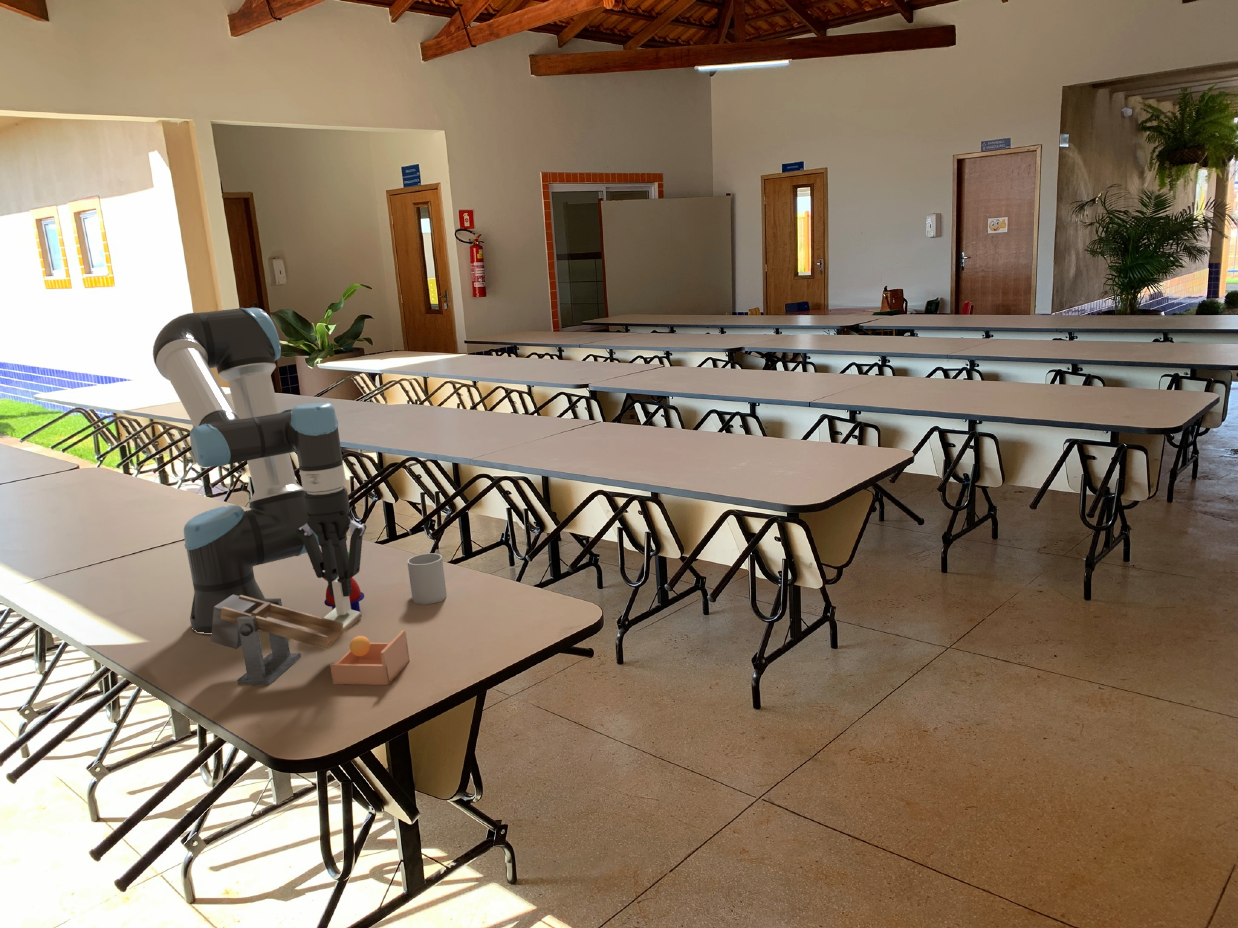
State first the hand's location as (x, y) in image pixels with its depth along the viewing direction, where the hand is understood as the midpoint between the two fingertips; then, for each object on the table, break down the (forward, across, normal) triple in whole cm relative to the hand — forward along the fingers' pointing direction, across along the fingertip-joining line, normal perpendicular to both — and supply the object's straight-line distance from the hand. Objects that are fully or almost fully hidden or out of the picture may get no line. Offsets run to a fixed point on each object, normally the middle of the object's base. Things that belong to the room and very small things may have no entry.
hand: (344, 612), depth 168 cm
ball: (+3, +7, -8) cm, 11 cm away
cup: (+8, +4, +27) cm, 28 cm away
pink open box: (+8, +8, -8) cm, 14 cm away
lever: (+4, -10, -5) cm, 11 cm away
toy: (+8, -10, +17) cm, 21 cm away
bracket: (+8, -12, -8) cm, 16 cm away
